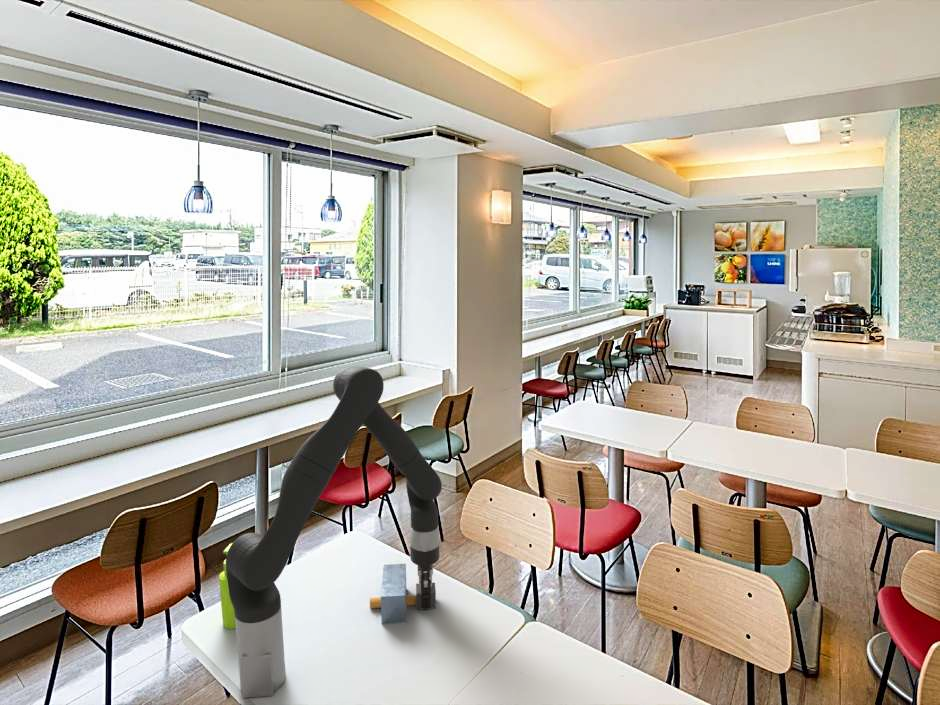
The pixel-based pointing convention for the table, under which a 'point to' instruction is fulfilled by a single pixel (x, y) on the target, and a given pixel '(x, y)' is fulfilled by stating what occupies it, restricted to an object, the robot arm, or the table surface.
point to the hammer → (410, 599)
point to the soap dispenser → (226, 598)
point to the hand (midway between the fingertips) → (425, 601)
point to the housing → (393, 594)
